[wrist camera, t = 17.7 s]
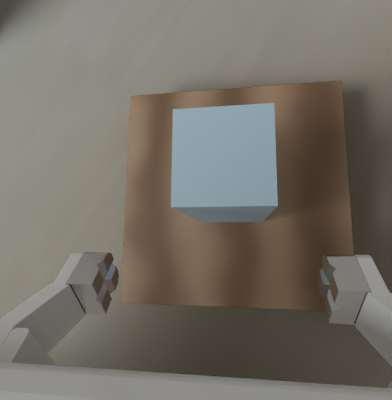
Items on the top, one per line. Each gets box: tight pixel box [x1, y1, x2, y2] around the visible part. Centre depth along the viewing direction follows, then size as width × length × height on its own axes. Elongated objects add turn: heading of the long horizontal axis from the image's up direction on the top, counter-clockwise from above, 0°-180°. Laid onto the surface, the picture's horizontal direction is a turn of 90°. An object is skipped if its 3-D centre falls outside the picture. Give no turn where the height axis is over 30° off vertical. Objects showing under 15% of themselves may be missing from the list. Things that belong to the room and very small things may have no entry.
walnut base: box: [121, 81, 354, 311], centre depth 26 cm, size 18×18×4 cm
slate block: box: [171, 103, 278, 222], centre depth 19 cm, size 5×5×10 cm
